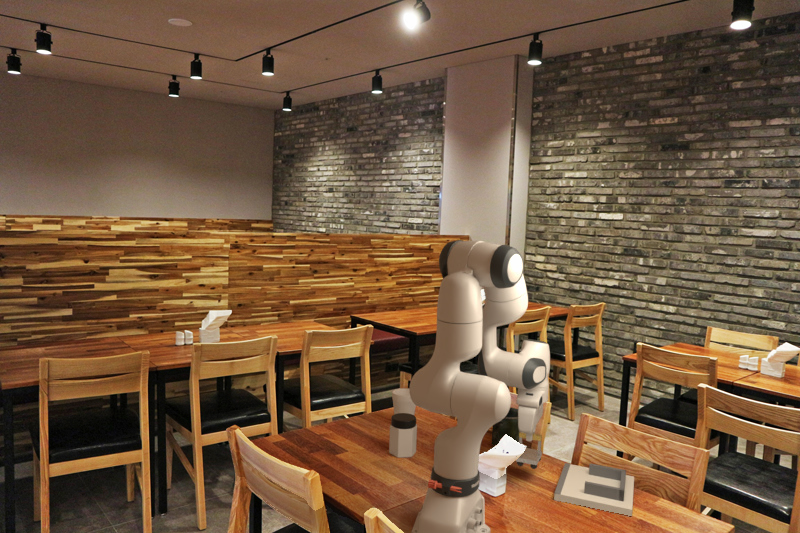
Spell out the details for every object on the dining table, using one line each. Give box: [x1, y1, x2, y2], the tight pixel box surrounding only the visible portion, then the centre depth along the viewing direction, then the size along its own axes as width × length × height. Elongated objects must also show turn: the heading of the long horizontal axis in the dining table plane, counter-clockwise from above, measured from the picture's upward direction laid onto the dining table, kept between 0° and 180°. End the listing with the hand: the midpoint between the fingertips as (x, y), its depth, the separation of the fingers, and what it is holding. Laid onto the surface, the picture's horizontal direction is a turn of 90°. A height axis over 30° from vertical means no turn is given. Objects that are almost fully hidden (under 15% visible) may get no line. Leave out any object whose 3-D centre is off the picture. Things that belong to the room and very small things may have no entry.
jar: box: [388, 413, 418, 459], centre depth 187 cm, size 9×8×12 cm
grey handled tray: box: [515, 432, 543, 470], centre depth 171 cm, size 9×6×9 cm
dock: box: [553, 462, 635, 517], centre depth 164 cm, size 22×20×5 cm
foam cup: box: [391, 387, 417, 416], centre depth 210 cm, size 10×9×13 cm
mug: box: [491, 407, 519, 448], centre depth 193 cm, size 11×15×12 cm
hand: (530, 438), depth 170 cm, fingers closed on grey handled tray
